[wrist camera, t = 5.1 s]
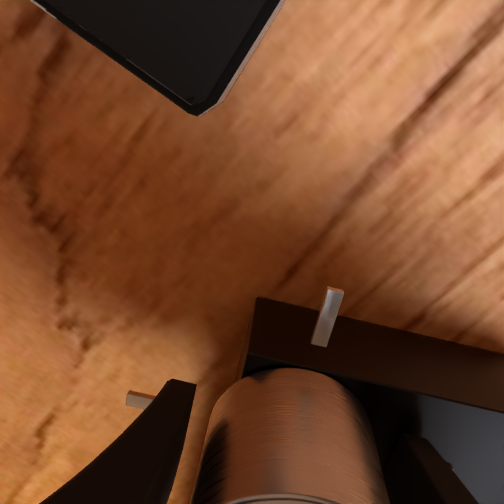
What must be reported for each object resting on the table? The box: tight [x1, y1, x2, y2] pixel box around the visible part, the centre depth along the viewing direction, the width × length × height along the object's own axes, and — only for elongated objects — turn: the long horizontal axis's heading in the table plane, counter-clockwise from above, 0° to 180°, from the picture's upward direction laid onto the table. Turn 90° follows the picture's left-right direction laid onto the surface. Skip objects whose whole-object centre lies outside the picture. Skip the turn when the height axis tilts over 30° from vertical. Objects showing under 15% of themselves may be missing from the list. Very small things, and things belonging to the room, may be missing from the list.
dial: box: [189, 367, 390, 504], centre depth 9 cm, size 4×4×4 cm
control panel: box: [126, 287, 504, 504], centre depth 13 cm, size 12×11×3 cm
